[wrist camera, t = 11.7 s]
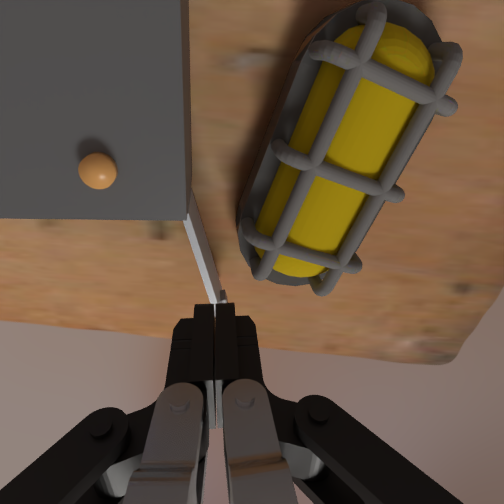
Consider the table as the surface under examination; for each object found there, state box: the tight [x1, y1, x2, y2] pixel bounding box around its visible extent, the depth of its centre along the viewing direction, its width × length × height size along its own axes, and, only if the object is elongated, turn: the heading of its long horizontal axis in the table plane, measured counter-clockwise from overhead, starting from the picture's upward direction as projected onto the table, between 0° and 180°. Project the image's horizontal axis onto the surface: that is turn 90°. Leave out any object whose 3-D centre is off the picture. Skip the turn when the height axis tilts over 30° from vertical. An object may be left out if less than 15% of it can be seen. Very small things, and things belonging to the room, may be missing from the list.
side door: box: [183, 188, 228, 313], centre depth 38 cm, size 1×14×7 cm, turn 11°
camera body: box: [0, 0, 192, 221], centre depth 27 cm, size 18×17×13 cm
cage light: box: [236, 0, 463, 296], centre depth 36 cm, size 15×8×30 cm
